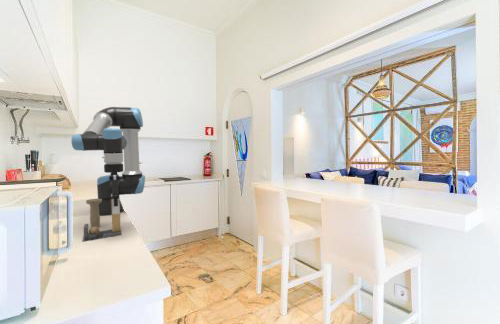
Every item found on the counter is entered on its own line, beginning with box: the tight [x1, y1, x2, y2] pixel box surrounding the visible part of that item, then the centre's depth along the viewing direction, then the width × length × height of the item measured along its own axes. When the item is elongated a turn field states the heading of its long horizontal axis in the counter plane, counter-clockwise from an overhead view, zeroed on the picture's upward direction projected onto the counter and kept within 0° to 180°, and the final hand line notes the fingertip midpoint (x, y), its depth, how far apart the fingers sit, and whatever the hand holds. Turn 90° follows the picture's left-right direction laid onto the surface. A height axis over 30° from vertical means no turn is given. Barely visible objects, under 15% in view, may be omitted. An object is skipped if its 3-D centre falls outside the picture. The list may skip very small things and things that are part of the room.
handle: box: [85, 198, 102, 229], centre depth 118 cm, size 5×6×15 cm
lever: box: [111, 196, 122, 233], centre depth 111 cm, size 4×4×15 cm
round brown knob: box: [88, 227, 100, 235], centre depth 107 cm, size 4×4×4 cm
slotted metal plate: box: [81, 223, 123, 242], centre depth 109 cm, size 11×14×6 cm
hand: (115, 210), depth 111 cm, fingers open, 13 cm apart
